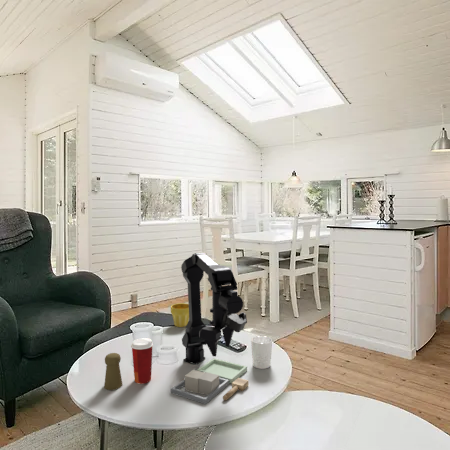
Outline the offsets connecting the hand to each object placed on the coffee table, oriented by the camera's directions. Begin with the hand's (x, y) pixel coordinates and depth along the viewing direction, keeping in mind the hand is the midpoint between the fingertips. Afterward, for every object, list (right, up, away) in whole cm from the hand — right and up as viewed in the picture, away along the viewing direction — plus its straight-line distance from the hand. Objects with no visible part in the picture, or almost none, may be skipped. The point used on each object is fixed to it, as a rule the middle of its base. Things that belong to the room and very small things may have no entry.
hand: (221, 351), depth 129 cm
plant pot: (-21, -8, +65) cm, 69 cm away
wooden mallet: (+4, -13, -2) cm, 14 cm away
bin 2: (0, -12, +12) cm, 17 cm away
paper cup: (-28, -13, +6) cm, 31 cm away
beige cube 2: (-9, -13, 0) cm, 15 cm away
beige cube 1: (-4, -13, -2) cm, 13 cm away
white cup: (+15, -11, +18) cm, 26 cm away
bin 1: (-7, -13, 0) cm, 14 cm away
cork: (-37, -13, +2) cm, 39 cm away
